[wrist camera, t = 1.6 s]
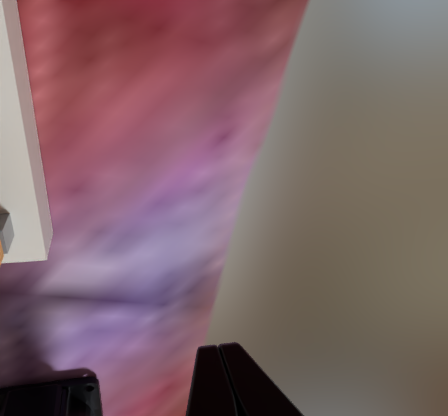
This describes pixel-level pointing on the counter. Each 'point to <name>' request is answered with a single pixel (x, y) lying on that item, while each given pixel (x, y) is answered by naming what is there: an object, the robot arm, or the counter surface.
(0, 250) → the fader orange
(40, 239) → the console
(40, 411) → the robot arm
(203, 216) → the counter surface
